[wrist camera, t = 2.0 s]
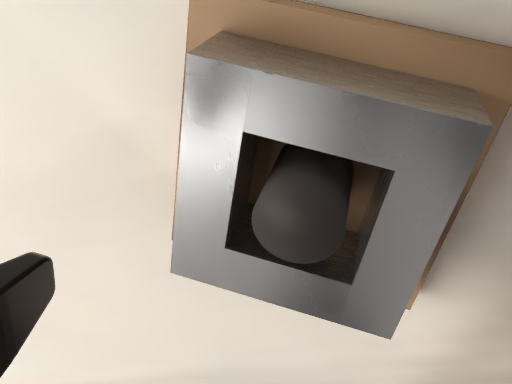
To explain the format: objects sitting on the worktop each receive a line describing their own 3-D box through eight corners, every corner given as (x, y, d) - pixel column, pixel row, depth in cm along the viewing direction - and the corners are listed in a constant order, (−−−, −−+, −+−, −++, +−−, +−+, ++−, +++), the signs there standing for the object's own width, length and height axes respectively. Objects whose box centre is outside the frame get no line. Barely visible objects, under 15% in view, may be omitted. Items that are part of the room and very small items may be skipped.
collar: (390, 281, 16) (390, 339, 14) (199, 226, 17) (170, 272, 15) (475, 88, 12) (492, 126, 10) (221, 30, 13) (187, 53, 11)
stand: (409, 291, 17) (413, 387, 14) (181, 225, 18) (132, 298, 15) (523, 50, 12) (576, 104, 9) (203, -20, 13) (136, 3, 10)
